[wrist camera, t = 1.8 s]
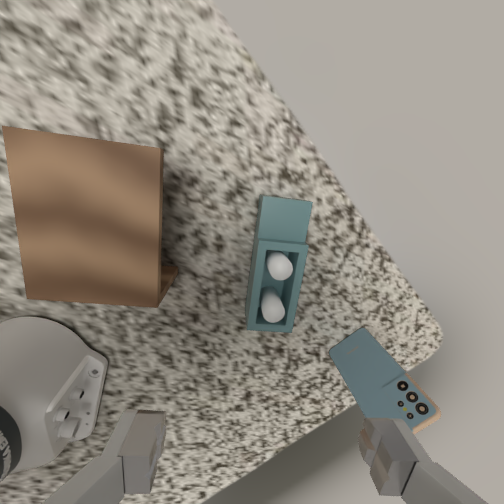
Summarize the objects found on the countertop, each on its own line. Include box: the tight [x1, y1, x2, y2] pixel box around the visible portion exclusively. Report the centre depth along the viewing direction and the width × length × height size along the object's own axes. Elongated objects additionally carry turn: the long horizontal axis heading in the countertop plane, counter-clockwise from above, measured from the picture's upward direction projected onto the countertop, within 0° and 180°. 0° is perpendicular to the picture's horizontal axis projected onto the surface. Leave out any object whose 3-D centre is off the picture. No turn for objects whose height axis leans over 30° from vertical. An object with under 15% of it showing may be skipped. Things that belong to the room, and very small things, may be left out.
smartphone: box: [329, 328, 441, 434], centre depth 31 cm, size 7×1×15 cm, turn 129°
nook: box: [2, 126, 178, 308], centre depth 26 cm, size 15×12×10 cm
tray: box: [245, 195, 313, 333], centre depth 31 cm, size 17×6×6 cm, turn 173°
